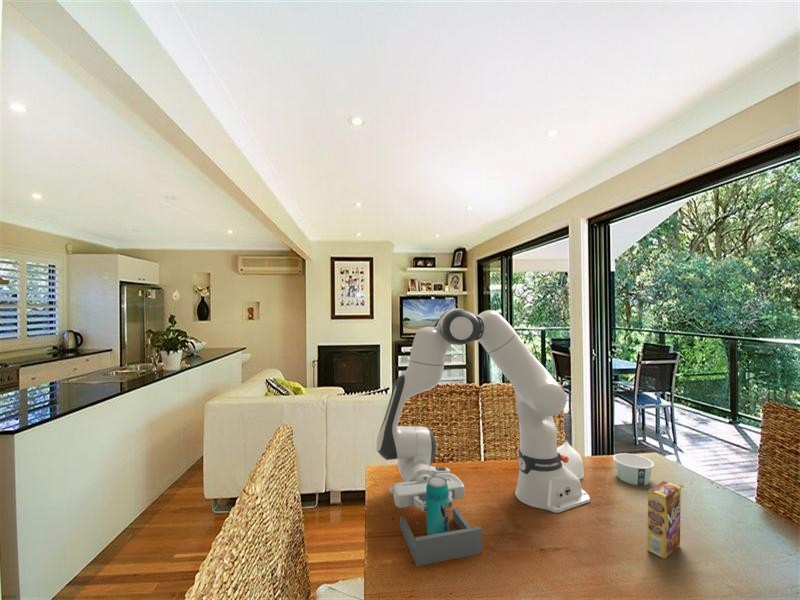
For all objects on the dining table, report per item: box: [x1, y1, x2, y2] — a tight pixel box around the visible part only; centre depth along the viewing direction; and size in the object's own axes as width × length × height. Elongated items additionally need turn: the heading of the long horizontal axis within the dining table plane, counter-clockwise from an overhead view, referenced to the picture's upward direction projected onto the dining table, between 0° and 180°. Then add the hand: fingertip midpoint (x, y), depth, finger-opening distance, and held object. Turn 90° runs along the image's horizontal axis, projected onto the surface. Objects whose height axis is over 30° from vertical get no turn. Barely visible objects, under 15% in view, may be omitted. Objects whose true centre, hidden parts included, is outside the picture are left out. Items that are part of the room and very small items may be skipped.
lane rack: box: [399, 507, 483, 567], centre depth 98 cm, size 17×16×6 cm
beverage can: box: [426, 477, 450, 535], centre depth 99 cm, size 6×6×15 cm
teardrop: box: [557, 439, 585, 480], centre depth 136 cm, size 11×11×12 cm
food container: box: [612, 453, 655, 486], centre depth 131 cm, size 12×12×6 cm
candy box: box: [646, 480, 682, 560], centre depth 94 cm, size 9×4×15 cm, turn 123°
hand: (438, 506), depth 99 cm, fingers closed on beverage can, 6 cm apart
